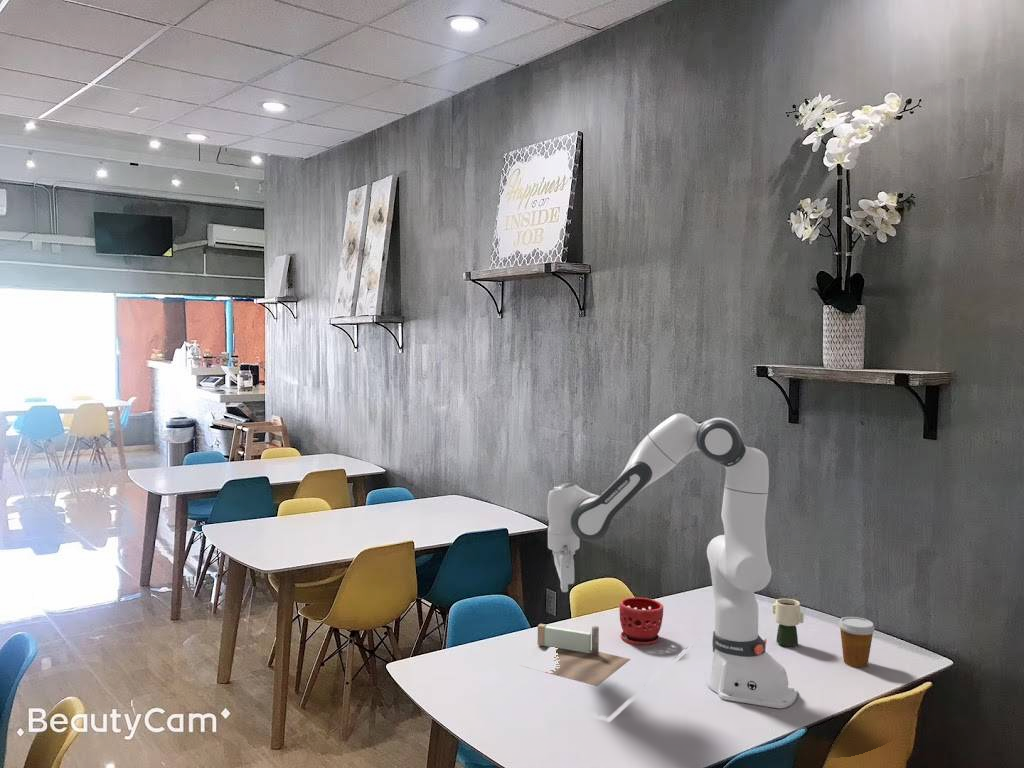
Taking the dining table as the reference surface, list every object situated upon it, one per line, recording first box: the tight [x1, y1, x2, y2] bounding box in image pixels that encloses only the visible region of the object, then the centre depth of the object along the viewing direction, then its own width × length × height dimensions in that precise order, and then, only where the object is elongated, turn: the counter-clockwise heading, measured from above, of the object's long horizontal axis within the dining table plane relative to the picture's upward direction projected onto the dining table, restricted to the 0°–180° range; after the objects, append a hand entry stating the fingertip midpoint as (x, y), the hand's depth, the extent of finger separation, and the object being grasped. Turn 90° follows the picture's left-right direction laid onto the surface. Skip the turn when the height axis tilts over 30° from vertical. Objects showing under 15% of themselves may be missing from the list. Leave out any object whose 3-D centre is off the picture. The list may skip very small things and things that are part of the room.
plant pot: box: [619, 597, 664, 647], centre depth 244 cm, size 13×13×12 cm
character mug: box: [772, 598, 805, 647], centre depth 242 cm, size 11×7×13 cm, turn 34°
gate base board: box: [545, 625, 631, 687], centre depth 226 cm, size 24×21×9 cm
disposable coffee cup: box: [838, 616, 876, 669], centre depth 228 cm, size 10×10×12 cm
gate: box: [537, 623, 592, 653], centre depth 235 cm, size 2×16×6 cm, turn 66°
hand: (564, 590), depth 224 cm, fingers closed
